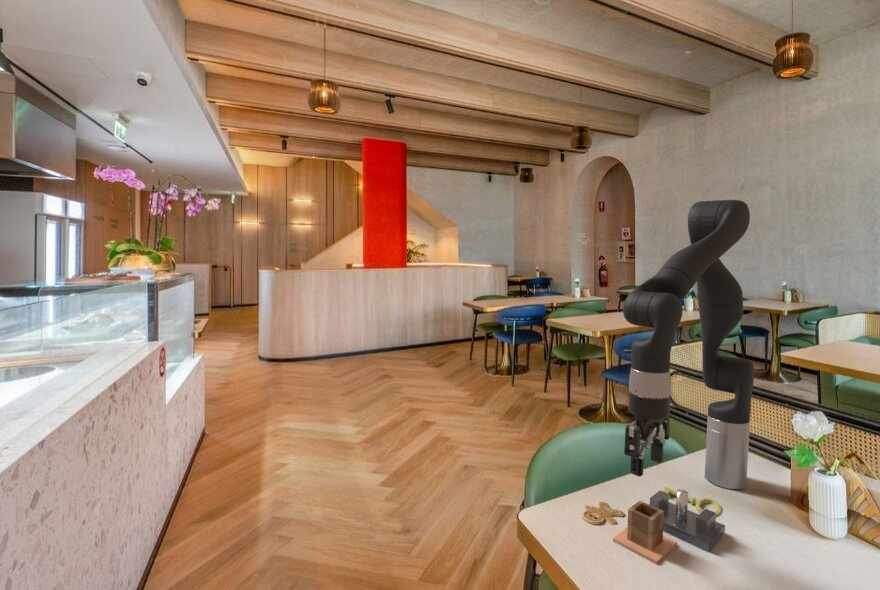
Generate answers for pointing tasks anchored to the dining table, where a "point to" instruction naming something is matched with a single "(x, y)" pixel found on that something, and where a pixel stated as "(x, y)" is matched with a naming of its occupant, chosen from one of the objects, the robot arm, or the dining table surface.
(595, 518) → the cookie
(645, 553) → the tile
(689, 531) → the grey clamp base
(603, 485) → the dining table surface
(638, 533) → the sleeve
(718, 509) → the key
